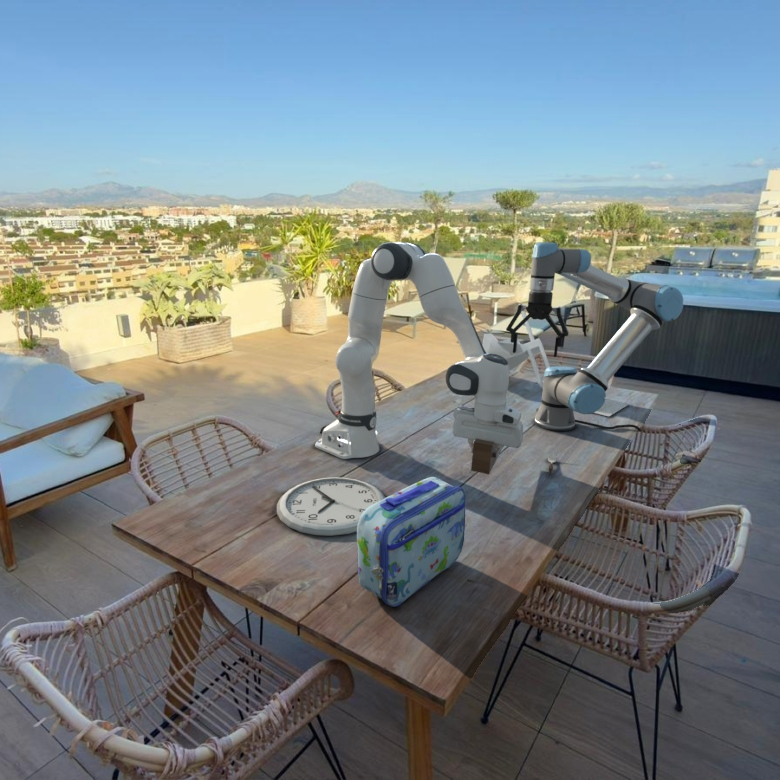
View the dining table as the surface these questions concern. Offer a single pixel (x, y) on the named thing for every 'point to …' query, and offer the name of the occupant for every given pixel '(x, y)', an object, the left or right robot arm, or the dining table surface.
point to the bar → (483, 456)
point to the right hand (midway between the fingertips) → (534, 354)
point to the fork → (551, 462)
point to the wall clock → (327, 505)
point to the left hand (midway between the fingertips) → (484, 454)
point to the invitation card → (610, 408)
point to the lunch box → (410, 539)
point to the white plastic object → (517, 350)
